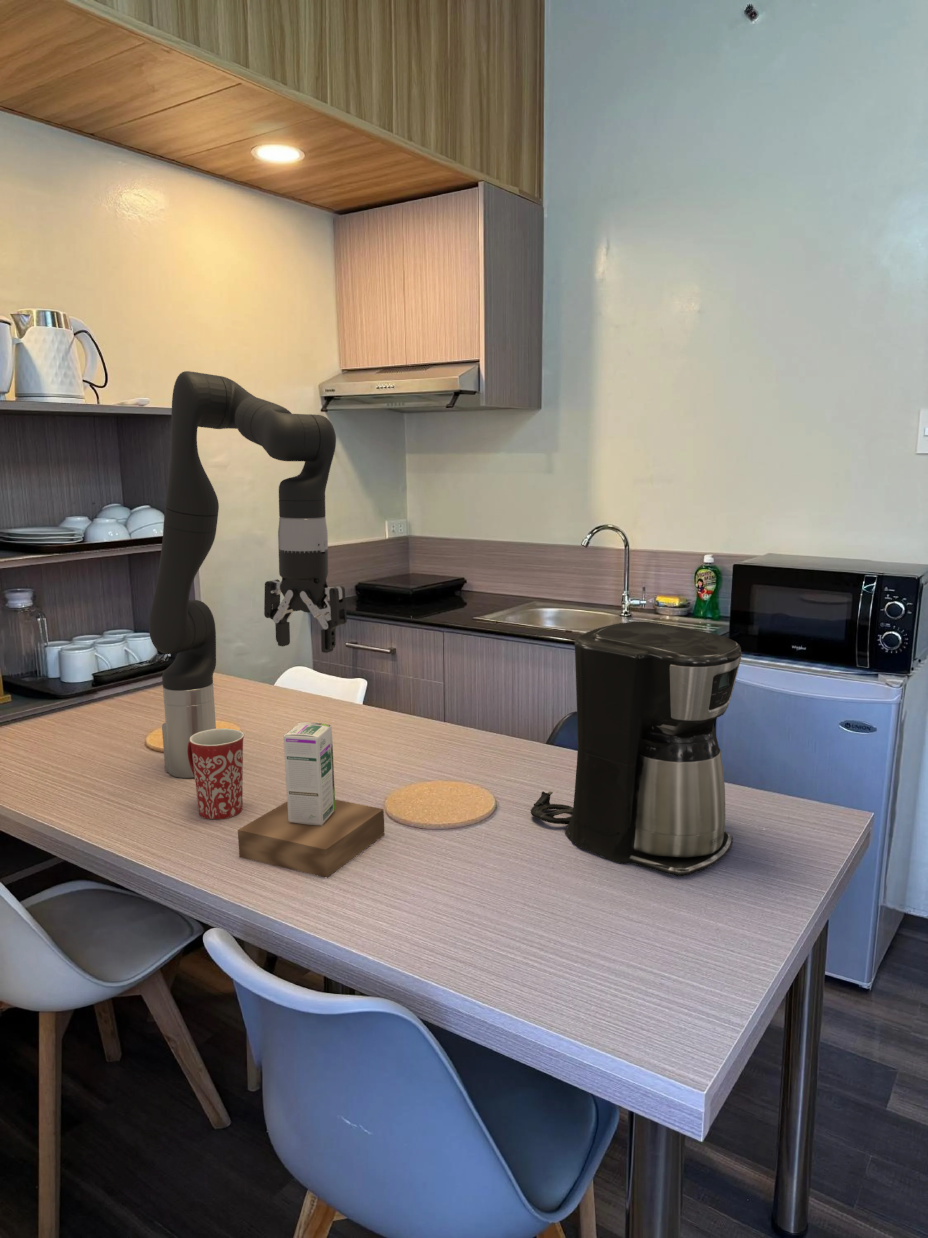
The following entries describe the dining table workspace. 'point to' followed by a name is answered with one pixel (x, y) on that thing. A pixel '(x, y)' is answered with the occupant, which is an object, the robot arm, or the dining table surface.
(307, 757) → the syrup box
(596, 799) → the coffee maker
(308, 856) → the walnut riser
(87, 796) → the dining table surface
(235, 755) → the mug
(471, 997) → the dining table surface
